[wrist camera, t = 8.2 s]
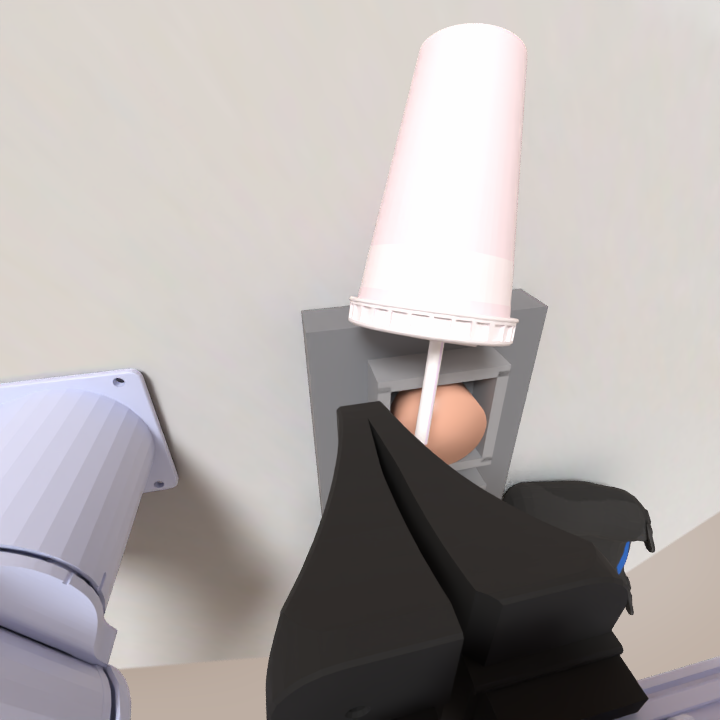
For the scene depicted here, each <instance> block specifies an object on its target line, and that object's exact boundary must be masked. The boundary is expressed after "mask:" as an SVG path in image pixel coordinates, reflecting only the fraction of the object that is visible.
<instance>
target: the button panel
mask: <svg viewBox="0 0 720 720" xmlns="http://www.w3.org/2000/svg"><path fill="white" fill-rule="evenodd" d="M547 309H548V306H547V305H545V304H544V303H542V302H540V301H539V300H537V299H536V298H534V297H533V296H531V295H530V294H528V293H526V292H525V291H523V290H522V289H514V290H512V296H511V313H510V318H516V319H518V320H519V322H518V323H516V328H515V333H514V338H513V343H512V344H511V345H509V346H480V345H477V347H472V346H465V345H458V344H451V343H444V348H443V354H442V360H441V366H440V372H439V378H438V384H437V386H438V385H445V384H453V383H460V382H462V383H463V384H464V385H465V387H466V388H467V389H468V390H469V392H470V393H471V394H472V396H473V397H474V398H475V399H476V401H477V402H478V403H479V405H480V406H481V407H482V409H483V410H484V412H485V415H486V421H487V424H486V430H485V433H484V435H483V437H482V439H481V441H480V442H479V444H478V445H477V446H476V447H475V448H474V450H472V451H471V452H470V453H469V454H468V455H467V456H465V457H464V458H462V459H460V460H459V461H457V462H454V463H452V464H449V466H450V467H452V468H453V469H454V470H456V471H457V472H458V473H460V474H461V475H463V476H464V477H466V478H467V479H468V480H470V481H471V482H473V483H474V484H476V485H477V486H479V487H481V488H482V489H484V490H485V491H487V492H489V493H491V494H492V495H494V496H496V497H497V498H499V499H502V495H503V491H504V487H505V483H506V479H507V475H508V470H509V466H510V462H511V458H512V454H513V450H514V446H515V441H516V437H517V433H518V429H519V425H520V421H521V417H522V412H523V408H524V404H525V400H526V396H527V392H528V388H529V383H530V379H531V375H532V371H533V367H534V363H535V359H536V354H537V350H538V346H539V342H540V338H541V334H542V330H543V325H544V321H545V317H546V313H547ZM349 310H350V306H344V307H334V308H324V309H314V310H304V311H301V313H302V323H303V333H304V343H305V353H306V363H307V373H308V383H309V393H310V403H311V413H312V423H313V433H314V443H315V453H316V463H317V473H318V483H319V493H320V503H321V513H322V515H323V512H324V509H325V506H326V503H327V499H328V496H329V492H330V488H331V484H332V480H333V475H334V469H335V464H336V459H337V451H338V430H337V413H336V410H337V409H338V408H339V407H340V406H347V405H354V404H361V403H368V402H375V401H380V402H382V403H383V404H384V405H385V406H386V407H387V408H388V410H389V411H390V407H391V404H392V402H393V400H394V398H395V397H396V395H397V394H398V393H399V392H400V391H402V390H410V389H417V388H422V386H423V380H424V374H425V367H426V361H427V355H428V349H429V343H430V340H426V339H419V338H414V337H409V336H403V335H398V334H392V333H387V332H382V331H377V330H373V329H368V328H364V327H361V326H358V325H355V324H352V323H351V322H350V321H349V320H348V318H349Z"/></svg>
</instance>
